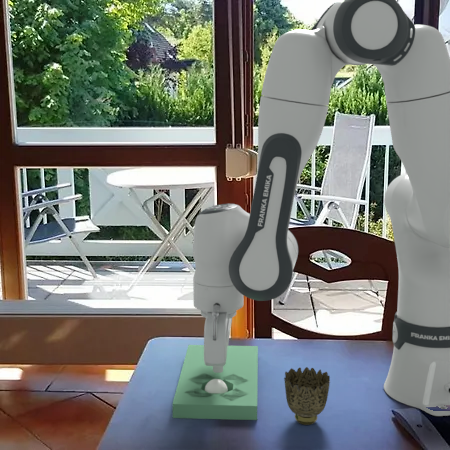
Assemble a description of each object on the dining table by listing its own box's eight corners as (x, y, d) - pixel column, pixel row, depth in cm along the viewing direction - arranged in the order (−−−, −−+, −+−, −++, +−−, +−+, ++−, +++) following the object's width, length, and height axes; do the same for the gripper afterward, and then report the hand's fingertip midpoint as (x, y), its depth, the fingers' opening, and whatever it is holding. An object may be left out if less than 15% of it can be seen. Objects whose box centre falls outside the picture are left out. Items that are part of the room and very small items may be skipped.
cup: (327, 434, 108) (329, 387, 106) (280, 430, 109) (281, 383, 107) (329, 412, 115) (331, 368, 113) (286, 408, 116) (287, 364, 115)
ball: (228, 381, 121) (227, 376, 117) (228, 404, 119) (227, 400, 116) (205, 381, 121) (203, 376, 118) (205, 404, 120) (203, 400, 116)
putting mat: (257, 357, 138) (257, 346, 137) (257, 420, 112) (257, 406, 112) (188, 356, 138) (188, 344, 138) (172, 417, 113) (172, 403, 112)
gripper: (233, 315, 109) (233, 395, 112) (238, 279, 129) (238, 348, 132) (194, 315, 110) (195, 394, 113) (205, 279, 130) (205, 347, 133)
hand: (218, 369), depth 123 cm, fingers closed
